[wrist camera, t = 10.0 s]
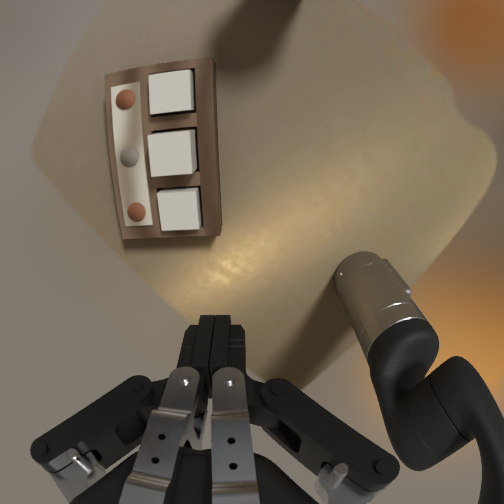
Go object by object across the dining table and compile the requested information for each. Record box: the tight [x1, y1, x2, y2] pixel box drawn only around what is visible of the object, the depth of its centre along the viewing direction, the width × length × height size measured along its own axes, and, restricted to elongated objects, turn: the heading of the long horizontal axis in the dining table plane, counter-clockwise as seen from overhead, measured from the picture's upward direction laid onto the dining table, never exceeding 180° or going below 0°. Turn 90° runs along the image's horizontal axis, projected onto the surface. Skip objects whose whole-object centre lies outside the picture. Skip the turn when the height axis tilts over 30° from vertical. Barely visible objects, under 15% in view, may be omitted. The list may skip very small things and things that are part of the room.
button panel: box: [105, 58, 222, 239], centre depth 36 cm, size 14×23×4 cm, turn 1°
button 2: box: [148, 129, 197, 177], centre depth 34 cm, size 5×5×4 cm
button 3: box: [149, 70, 196, 114], centre depth 32 cm, size 5×5×4 cm
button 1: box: [157, 185, 203, 231], centre depth 38 cm, size 5×5×4 cm
